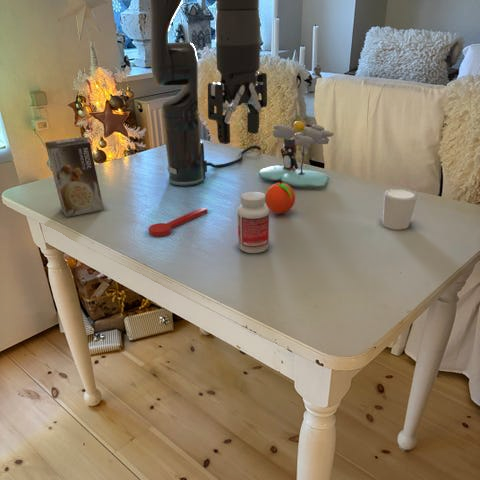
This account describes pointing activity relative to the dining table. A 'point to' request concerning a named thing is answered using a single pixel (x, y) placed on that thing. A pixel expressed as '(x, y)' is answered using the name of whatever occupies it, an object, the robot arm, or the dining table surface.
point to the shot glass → (398, 208)
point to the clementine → (280, 198)
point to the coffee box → (75, 176)
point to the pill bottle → (253, 223)
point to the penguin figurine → (288, 171)
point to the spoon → (174, 223)
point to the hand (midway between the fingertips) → (239, 137)
